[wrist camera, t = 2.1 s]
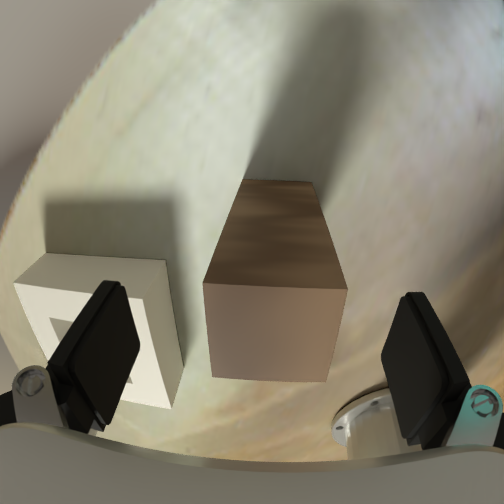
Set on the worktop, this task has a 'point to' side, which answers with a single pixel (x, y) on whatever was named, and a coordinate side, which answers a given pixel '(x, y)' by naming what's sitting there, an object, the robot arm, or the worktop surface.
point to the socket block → (141, 303)
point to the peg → (274, 287)
